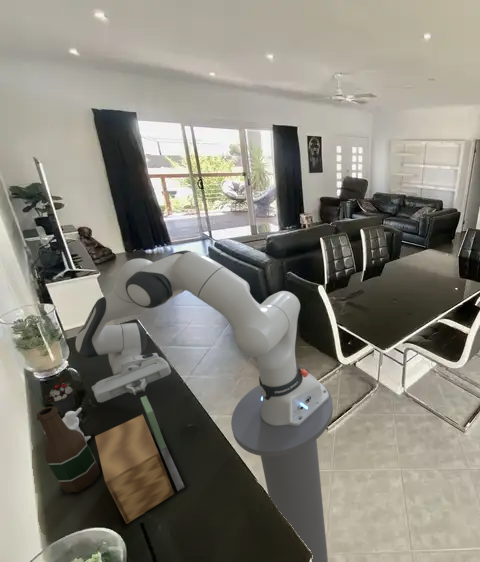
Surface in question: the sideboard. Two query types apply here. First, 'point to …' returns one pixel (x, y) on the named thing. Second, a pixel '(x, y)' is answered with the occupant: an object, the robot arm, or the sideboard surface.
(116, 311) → the robot arm
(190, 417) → the sideboard surface
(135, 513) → the cupboard
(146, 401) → the sliding door
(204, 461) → the sideboard surface
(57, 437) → the beer bottle
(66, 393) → the sundae
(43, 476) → the sideboard surface
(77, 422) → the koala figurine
